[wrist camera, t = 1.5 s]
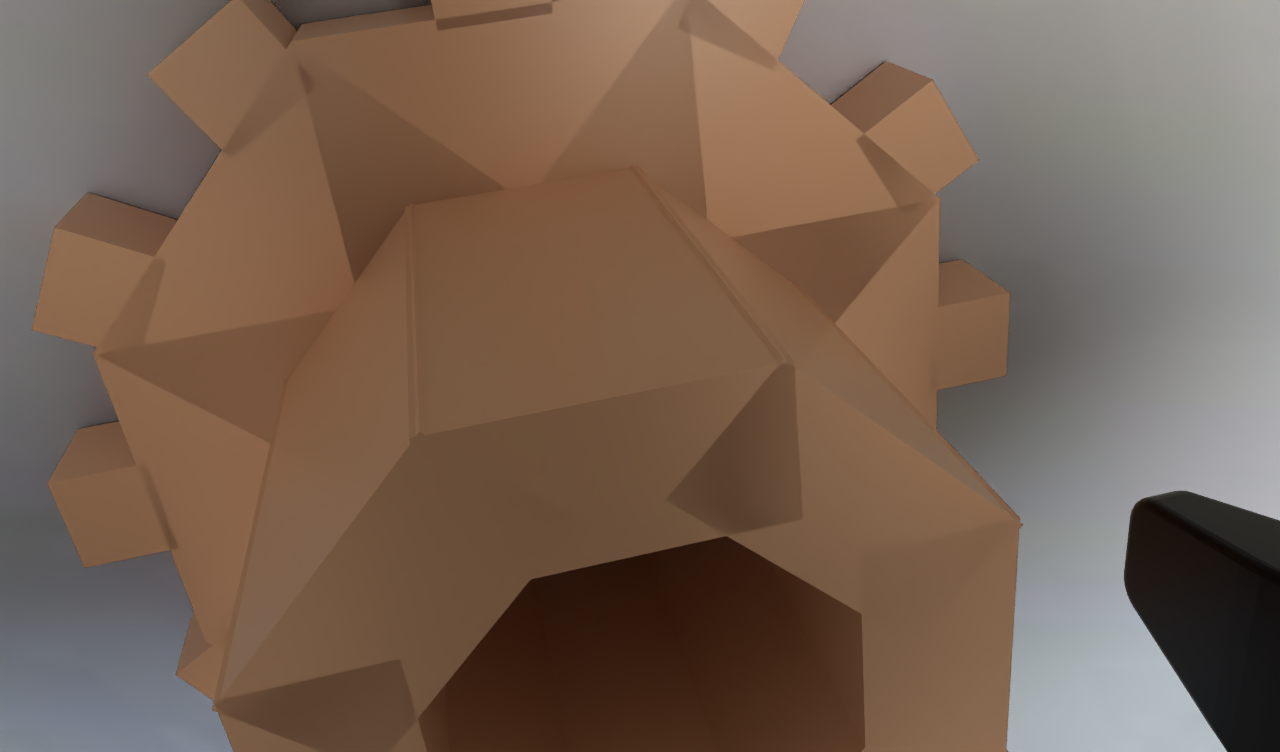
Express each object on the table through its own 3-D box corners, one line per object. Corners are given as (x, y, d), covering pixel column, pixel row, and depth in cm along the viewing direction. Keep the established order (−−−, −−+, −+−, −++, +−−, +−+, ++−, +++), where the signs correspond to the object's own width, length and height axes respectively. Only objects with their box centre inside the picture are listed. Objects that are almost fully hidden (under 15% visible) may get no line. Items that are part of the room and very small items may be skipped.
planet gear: (953, 622, 16) (1223, 992, 11) (229, 795, 15) (136, 1316, 9) (972, -166, 11) (1484, -194, 6) (-109, -20, 10) (-698, 115, 5)
